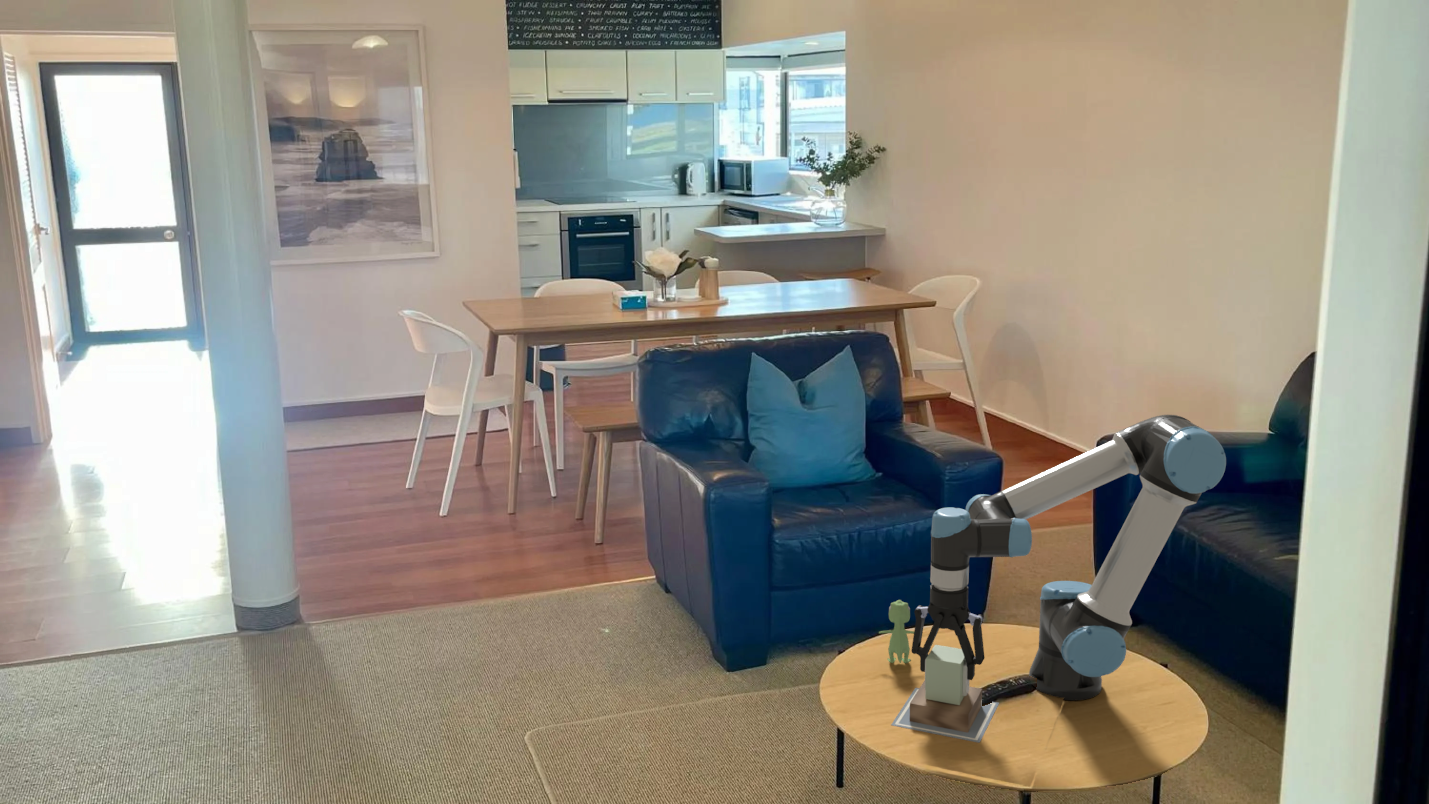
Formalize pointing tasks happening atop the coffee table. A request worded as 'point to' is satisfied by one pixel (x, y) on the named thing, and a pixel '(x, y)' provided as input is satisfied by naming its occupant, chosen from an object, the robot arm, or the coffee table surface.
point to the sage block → (945, 674)
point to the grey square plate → (973, 734)
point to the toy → (899, 631)
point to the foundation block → (946, 710)
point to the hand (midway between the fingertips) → (946, 689)
